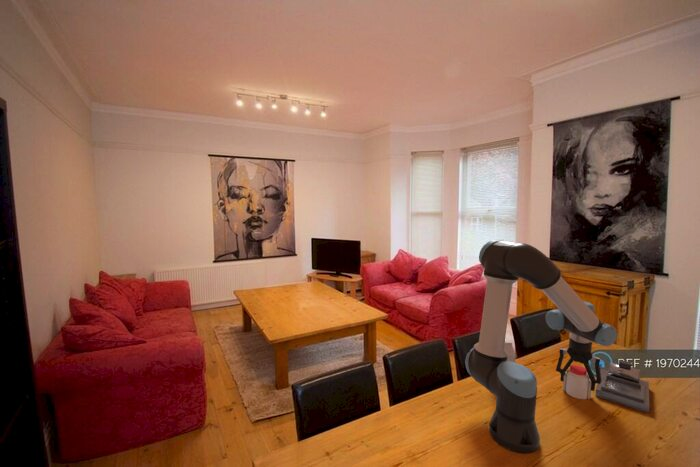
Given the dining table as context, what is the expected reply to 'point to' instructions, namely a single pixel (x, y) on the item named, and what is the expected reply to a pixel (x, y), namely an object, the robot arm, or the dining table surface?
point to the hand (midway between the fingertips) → (576, 392)
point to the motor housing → (624, 386)
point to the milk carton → (510, 351)
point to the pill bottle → (577, 382)
